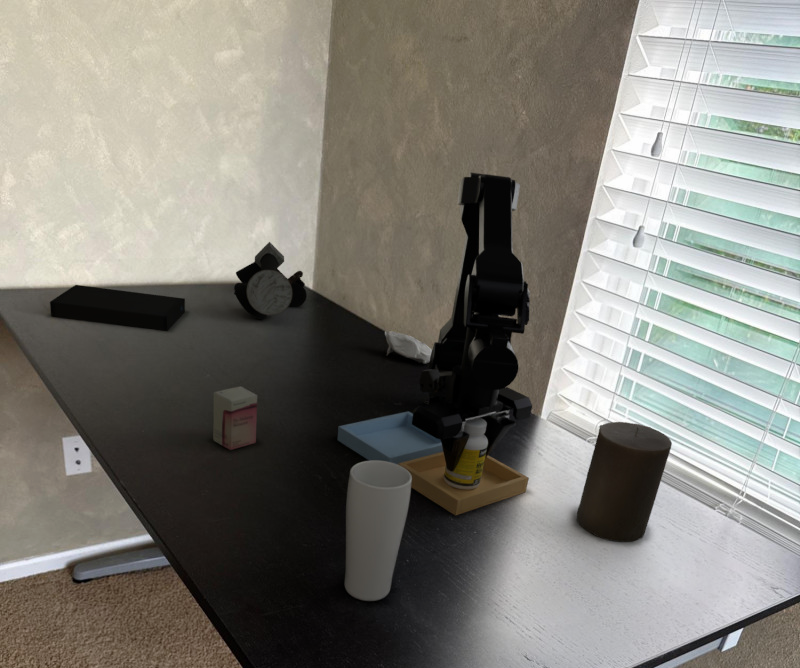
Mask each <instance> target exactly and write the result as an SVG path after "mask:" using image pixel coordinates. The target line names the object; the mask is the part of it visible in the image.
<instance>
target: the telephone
mask: <svg viewBox="0 0 800 668" xmlns="http://www.w3.org/2000/svg"><path fill="white" fill-rule="evenodd" d="M284 263H285V256H284V254H283V253H281V251H280V250H278V248H276V247H275V245H274V244H272V242H271V241H268V242H267V244H265V246H264V247H262V249H261V250H260V251H259V252H258V253H257V254H256V255H255V256H254V262H251V263H249V264H248V265H246V266H244V267H243V268H241V269H239V270H236V272H235V275H236V277H237V278H238V280H239V281H240V282H236V283H235V284H234V287H233V290H234V292H233V295H235V296H236V300H237V301H238V302H239V304H240V306H241V307H242V308H243V309H244V310H245V311H246V312H247V313H248V314H249V315H250V316H252V317H254V318H255V319H257V320H266V319H267V317H268V316H276V315H279V314H281V313H283V312H284V311H285V310H287V309H288V307H292V308H298V307H300V306H302V305H303V304H304V303H306V300H307V296H308V295H307V291H306V288H305V286H306V284H305V282H304V281H303V280H302V277H303V275H304V272H303V271H302V270H298V271H296V272H294V273H293V274H292V275H291V276H290V277H288V278H287V277H286V276H285V274H283V273H282V272H281V271H280V270H279V268H280V266H282V265H283V264H284Z"/></svg>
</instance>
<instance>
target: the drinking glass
mask: <svg viewBox="0 0 800 668" xmlns="http://www.w3.org/2000/svg"><path fill="white" fill-rule="evenodd" d="M411 483H412V476H411V474H410V472H409V471H408V470H406V469H405V468H404V467H402V466H400V465H397V464H394V463H391V462H386V461H378V460H371V461H369V460H364V461H361V462H358V463H355V464H354V465H353V466H352V467H351V468H350V471H349V476H348V482H347V489H346V500H345V503H346V504H345V572H344V583H343V584H344V589H345V591H346V592H347V593H348V595H350V596H351V597H353V598H354V599H357V600H360V601H363V602H375V601H376V602H377V601H380V600H382V599H385V598H386V597H387V596H388V595H389V594H390V591H391V589H392V582H393V577H394V572H395V568H396V563H397V559H398V555H399V550H400V546H401V542H402V538H403V534H404V530H405V526H406V522H407V518H408V513H409V507H410V502H411V495H412V494H411V493H412V487H411Z"/></svg>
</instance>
